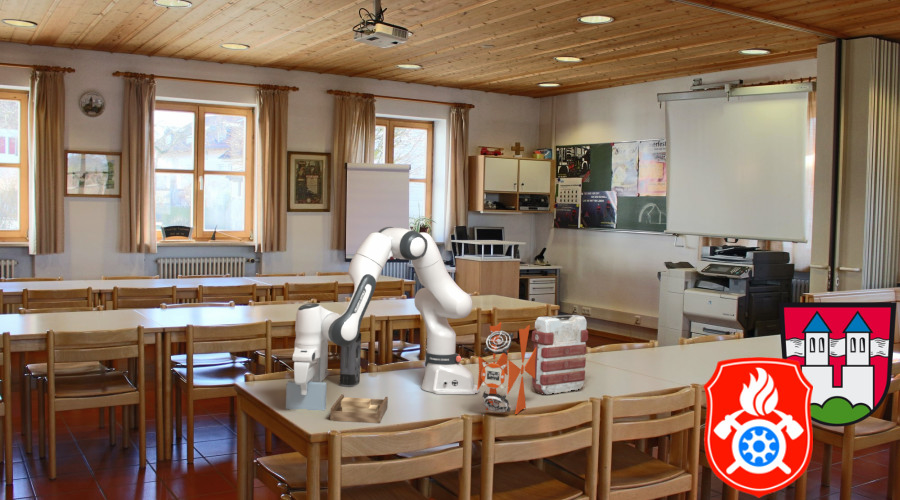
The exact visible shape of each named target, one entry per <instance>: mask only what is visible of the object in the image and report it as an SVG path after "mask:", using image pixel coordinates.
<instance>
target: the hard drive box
mask: <svg viewBox="0 0 900 500" xmlns="http://www.w3.org/2000/svg"><path fill="white" fill-rule="evenodd" d="M328 345H329V341H328V340H326V339H323V340H322V341H321V357H320V358H318V373H317V374H316V375H315V376H314V377H313V381H312V382H323V381H324V380H325V379H326V378H327V376H328V359H329V357H328V352H329V351H328V350H329V348H328V347H329V346H328Z"/></svg>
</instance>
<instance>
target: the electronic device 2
mask: <svg viewBox="0 0 900 500" xmlns="http://www.w3.org/2000/svg"><path fill="white" fill-rule="evenodd" d="M501 326H502V321H500V322H499V323H498V324H496V325H489V333H490V334H489V335H488V336H487V338H486V341H485V343H486V344H485V345H486V347H484V348H483V349H484V352H485V353H486V354H488V352H489V353H490V352H491V354H492V357H493V358H492V359H493V360H494V361H493V362H490V363H489V362H488V361H486V360H485V359H483V358H482V357H480V356H478V375H477V376H478V378H477V391H478V389H479V390H480V387H481V388H482V387H484V386H487V387H488V388H489V391H488V392H489V393H486V391H484V392H483V393H482V398H483V399H484V400H483V405H484V406H485V407H486V409H485V411H486V410H487V411H489V410H490V411H492V412H496V413H504V412H507V413H510V411H511V406H510V403H509V400H508V399H507V395H509V393H510V391H511V390H512V388H513V387H514V384H515V383H516V381H517V378H518V377H519V376H520V375H522V376H521V378H520V383H519V388H518V389H519V390H518V395H517V401H516V405H515V407H516V408H515V412H514V415H515V414H517V415H518V414H519V413H520V412H521V411H522V409H524V408H526V409H527V404H526V394H525V384H524V376H523V374H524V371H525V372H526V373H527V374H528V375H530V376H531V377H533V378H534V379H535V358H536V348H537V347H536V348H535V350H534V349H533V351H532V353H531V355H530V357H529V358H528V360H527V361H526V364H525V365H524V362H525V356H526V349H527V347H528V346H527V345H528V337H529V332H530V327H531V325H530V324H529V325H527V326H526V327H525V328H518V334H519V344H520V346H519V347H520V353H521V363H522V364H521V367H519V366H517V364H515V363H514V362H513V361H511V360H510V359H508V357H509V349H510V347H511V346H512V339H513V338H514V333H513V332H511V333H508V332H506V331H504V330H501V328H502V327H501ZM504 336H505V341H504V338H503V337H504ZM508 339H509V340H508ZM490 341H491V342H490ZM489 345H490V346H491V347H489ZM502 347H503V348H502ZM498 354H501V355H500V356H499V358H498V359H497V361H495V360H496V356H497V355H498ZM506 376H508V380H507V386H504V385H503V384H504V383H505V379H506ZM498 388H500V389H502V390H505V388H507V390H506V391H507V393H505V394H504V395H501V394H499V393H497V389H498ZM488 409H489V410H488ZM524 410H525V409H524Z"/></svg>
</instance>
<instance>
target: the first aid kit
mask: <svg viewBox="0 0 900 500" xmlns="http://www.w3.org/2000/svg"><path fill="white" fill-rule="evenodd" d="M587 323H588V322H587V319H586V317H585V316H584V315H578V314H559V315H550V316H538V317H537V318H536V320H535V322H534V330H533V331H531V332H532V333H531V341H532V342H533V351H534V350H535V348H536V347H537V348H536V358H535V379H534V378H533V377H532V376H531V377H532V380H531V383H532V384H531V387H532V388H533V389H534V391H535V392H536V393H538V392H539V393H538V394H540V393H543V394H542V395H545V394H546V395H551V394H552V393H554V394H557V393H558V392H565V391H569V392H572V391H571V390H575V391H578V390H577V389H580V390H581V388H582V387H583V385H584V384H585V383H584V381H585V379H586V371H585V368H586V362H587V361H586V360H587V359H586V353H587V343H586V342H587V341H588V340H589V331H588V330H587ZM552 395H553V394H552Z"/></svg>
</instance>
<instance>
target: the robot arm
mask: <svg viewBox="0 0 900 500" xmlns="http://www.w3.org/2000/svg"><path fill="white" fill-rule="evenodd" d="M390 258H394V259H398V260H399V259H401V260H407V261H411V263H412V266H413V268H414V272H415V274H416V276H417V279H418V281H419V283H420V284H421V286H423V287H422V288H419V289H418V291H416V292H415V293H416V294H415V296H414V306H415V308H416V310H417V311H418V312H419V314H420V315H421V317H422V320H423V322H424V324H425V329H426V351H425V355H424V366H425V368H424V374H423V375H424V376H423V380H422V384H421V386H420V389H422V390H423V391H426V392H429V393H433V394H436V395H476V394H475V393H477V394H479V393H480V388H479V389H478V391H477V386H478V384H475V379H474V375H473V373H472V372H471V371H470V370H469V369H468V368H467V367H465V366H464V365H463V364H462V363H461V361H462V357H461V355H460V354H459V353H457V352H456V344H457V343H456V341H457V334H456V332H455V330H454V328H453V327H451V325H450V323H449V321H448V319H454V320H456V319H464V318H467V317H469V315H470V314H471V312H472V310H473V300H472V297H471V295H470V294H468V293H467V292H466V291H464V290H463V289H462V288H461V287H460V286H459V285H458V284H457V283H456V282H455V280H454V279H453V278H452V276H451V275H450V273H449V272H448V270H447V267H446V265H445V263H444V260H443V257H442V255H441V252H440V250H439V248H438V245H437V243H436V242H435V240H434V239H433V237H432V236H431V235H430V234H429V233H428V232H424V231H423V232H422V231H421V232H418V231H416V230H411V229H408V228H403V227H393V226H386V227H383V228H381V229H380V230H378V231H377V232H371V233H369V234H368V235H367V237H366V238H365V239H364V240H363V241H362V243H361V244H360V245H359V247H358V249H357V250H356V252H355V253H354V255H353V256H352V259H351V261H350V262H349V265H348V269H347V273H348V276H349V278H350V281H351V282H352V283H353V286H354V289H353V294H352V296H351V298H350V300H349V302H348V305H347V307H346V309H345V311H344V312H343V313H342V314H340V313H337V312H335V311H331V310H329V309H327V308H325V307H323V306H322V305H321V304H319V303H315V302H313V303H312V302H311V303H305V304H302V305H301V306H299V307H298V308H297V312H296V314H295V315H296V317H295V326H294V332H295V340H294V348H293V354H292V359H291V360H292V361H293V362H294V363H293V376H294V377H293V381H295V384H298V385H300V386H301V394H302V395H306V394H307V390H308V389H307V383H308V382H312V381H313V377H314V376H315V375H316V374H317V373H318V358H320V357H321V341H322V340H323V339H326V340H328V342H332V343H333V344H336V345H337V346H339V347H341V346H342V347H346V346H349V345H351V344H353V343H354V342H355V341H356V339H357V338H358V335H359V332H360V330H361V325H362V321H363V318H364V316H365V313H366V311H367V309H368V307H369V305H370V303H371V300H372V298H373V295H374V293H375V290H376V287H377V281H378V279H379V277H380V274H381V273H382V271H383V269H384V268H385V265H386V263H387V261H388V260H389V259H390ZM360 333H361V332H360Z"/></svg>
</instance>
